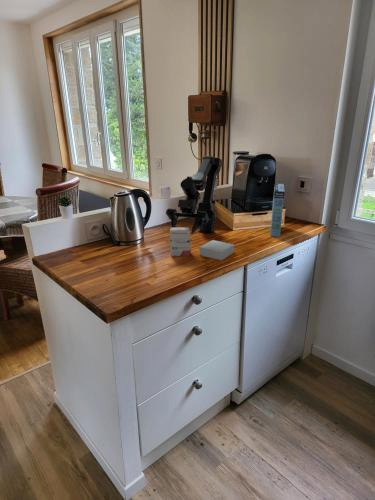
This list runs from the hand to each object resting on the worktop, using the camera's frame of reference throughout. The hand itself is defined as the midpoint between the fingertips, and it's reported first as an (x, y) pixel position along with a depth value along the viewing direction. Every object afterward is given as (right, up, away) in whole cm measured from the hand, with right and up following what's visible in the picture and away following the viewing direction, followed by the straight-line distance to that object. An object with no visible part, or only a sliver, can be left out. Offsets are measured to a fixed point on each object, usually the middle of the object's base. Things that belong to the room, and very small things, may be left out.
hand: (182, 232), depth 147 cm
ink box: (-1, -10, +2) cm, 10 cm away
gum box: (+48, +2, +30) cm, 57 cm away
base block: (+15, -10, +2) cm, 18 cm away
